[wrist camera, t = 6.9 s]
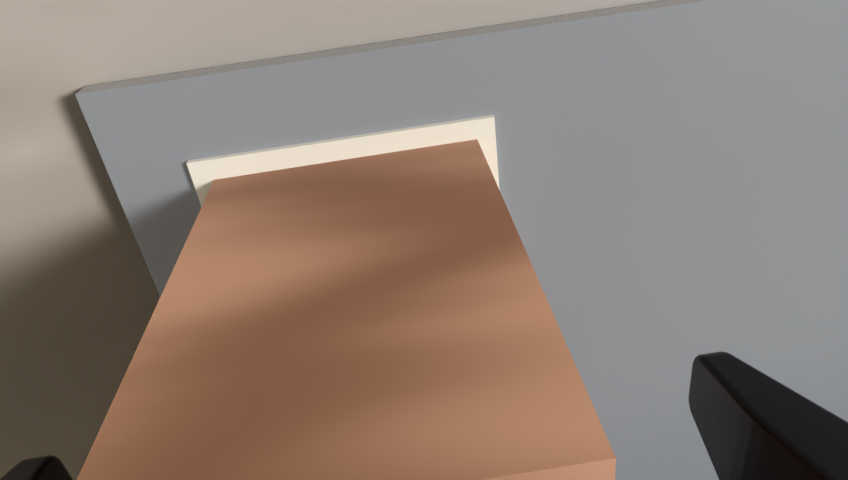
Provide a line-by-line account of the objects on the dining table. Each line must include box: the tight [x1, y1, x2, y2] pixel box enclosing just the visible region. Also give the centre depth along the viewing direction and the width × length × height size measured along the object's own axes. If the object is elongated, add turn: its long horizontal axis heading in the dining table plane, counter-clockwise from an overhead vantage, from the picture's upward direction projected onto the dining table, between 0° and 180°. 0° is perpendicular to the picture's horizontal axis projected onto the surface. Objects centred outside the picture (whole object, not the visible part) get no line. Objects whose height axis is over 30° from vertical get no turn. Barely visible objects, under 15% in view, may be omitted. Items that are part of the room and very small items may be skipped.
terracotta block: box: [77, 139, 616, 480], centre depth 8 cm, size 4×6×6 cm, turn 7°
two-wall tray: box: [75, 0, 848, 480], centre depth 11 cm, size 12×18×3 cm, turn 97°
